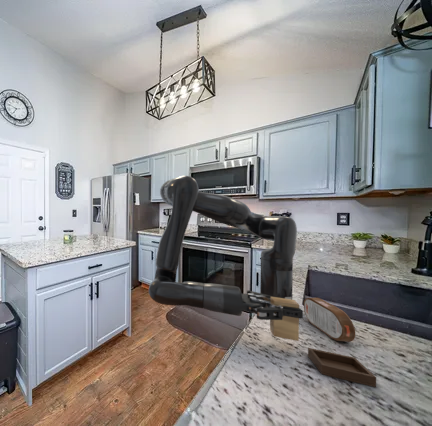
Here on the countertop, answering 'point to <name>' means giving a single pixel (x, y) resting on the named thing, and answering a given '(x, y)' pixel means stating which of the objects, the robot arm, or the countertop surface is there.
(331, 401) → the countertop surface
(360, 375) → the frame
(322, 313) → the tin
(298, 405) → the countertop surface
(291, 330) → the block
